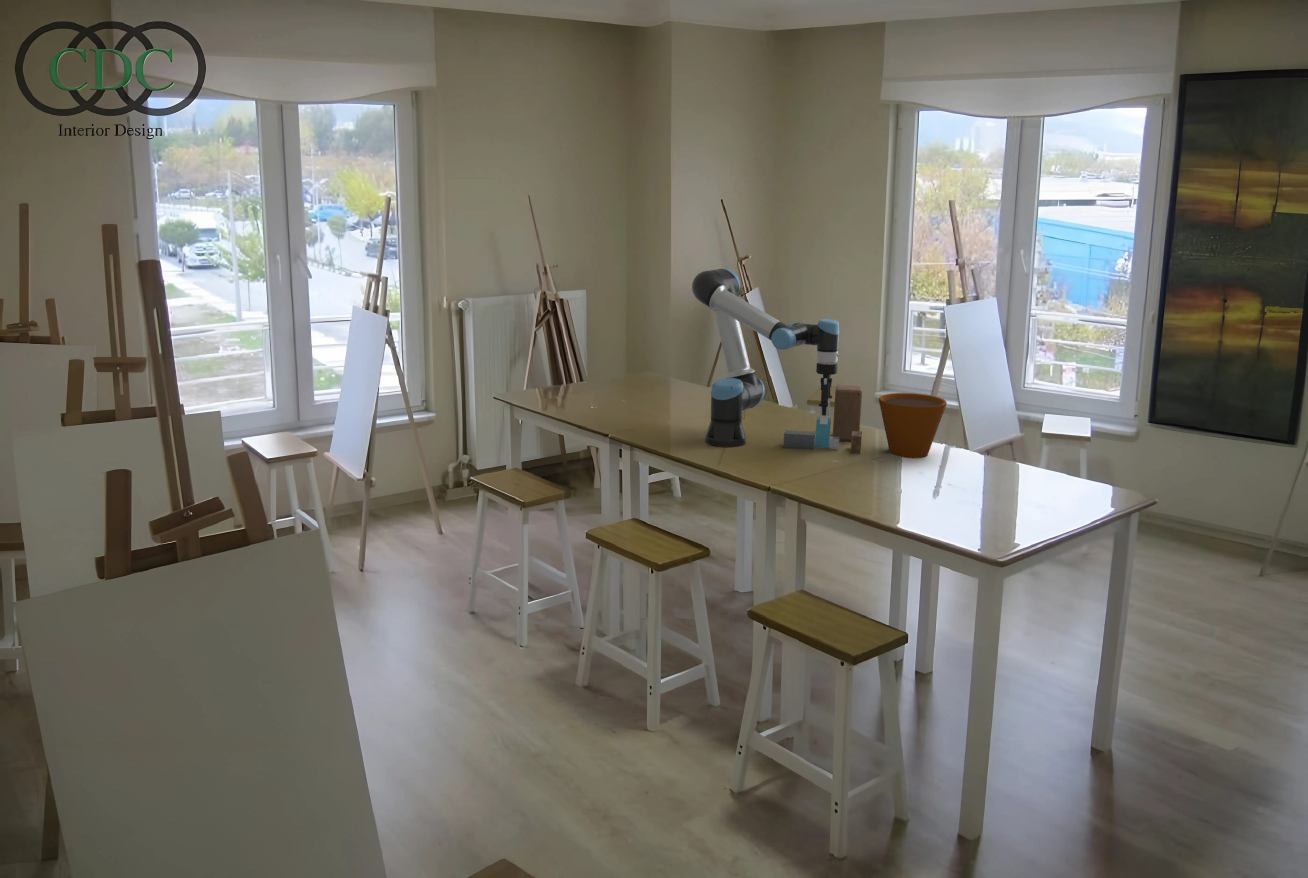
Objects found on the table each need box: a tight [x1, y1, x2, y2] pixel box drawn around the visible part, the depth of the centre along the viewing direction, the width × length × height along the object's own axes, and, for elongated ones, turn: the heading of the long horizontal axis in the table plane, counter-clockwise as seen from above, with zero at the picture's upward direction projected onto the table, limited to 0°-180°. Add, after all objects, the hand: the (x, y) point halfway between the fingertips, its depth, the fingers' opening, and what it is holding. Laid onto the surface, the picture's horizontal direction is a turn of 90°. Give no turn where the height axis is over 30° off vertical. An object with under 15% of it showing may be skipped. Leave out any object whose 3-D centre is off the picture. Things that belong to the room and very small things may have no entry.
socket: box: [850, 430, 863, 455], centre depth 383 cm, size 4×8×6 cm, turn 168°
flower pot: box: [878, 392, 947, 459], centre depth 380 cm, size 24×24×20 cm
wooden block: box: [832, 384, 863, 442], centre depth 400 cm, size 10×10×20 cm
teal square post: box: [814, 416, 840, 449], centre depth 386 cm, size 19×4×10 cm, turn 78°
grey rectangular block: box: [782, 429, 816, 451], centre depth 387 cm, size 11×6×6 cm, turn 78°
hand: (824, 420), depth 384 cm, fingers open, 13 cm apart
